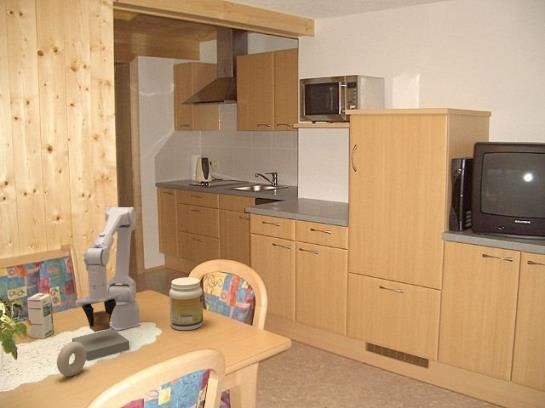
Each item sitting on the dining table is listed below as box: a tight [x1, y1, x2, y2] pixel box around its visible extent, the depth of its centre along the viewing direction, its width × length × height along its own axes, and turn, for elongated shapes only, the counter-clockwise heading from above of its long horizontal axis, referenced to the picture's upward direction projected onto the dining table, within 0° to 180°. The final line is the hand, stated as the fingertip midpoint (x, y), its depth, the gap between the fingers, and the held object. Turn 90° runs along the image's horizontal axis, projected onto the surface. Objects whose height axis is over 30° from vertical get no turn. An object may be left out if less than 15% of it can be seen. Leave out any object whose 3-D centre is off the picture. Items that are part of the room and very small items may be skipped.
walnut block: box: [88, 309, 111, 333], centre depth 182 cm, size 5×5×5 cm
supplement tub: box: [168, 276, 204, 331], centre depth 203 cm, size 12×12×17 cm
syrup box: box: [26, 292, 55, 340], centre depth 194 cm, size 6×6×14 cm
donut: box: [56, 341, 87, 377], centre depth 163 cm, size 10×3×10 cm, turn 152°
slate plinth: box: [71, 328, 131, 362], centre depth 183 cm, size 14×14×3 cm
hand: (99, 323), depth 182 cm, fingers closed on walnut block, 5 cm apart
